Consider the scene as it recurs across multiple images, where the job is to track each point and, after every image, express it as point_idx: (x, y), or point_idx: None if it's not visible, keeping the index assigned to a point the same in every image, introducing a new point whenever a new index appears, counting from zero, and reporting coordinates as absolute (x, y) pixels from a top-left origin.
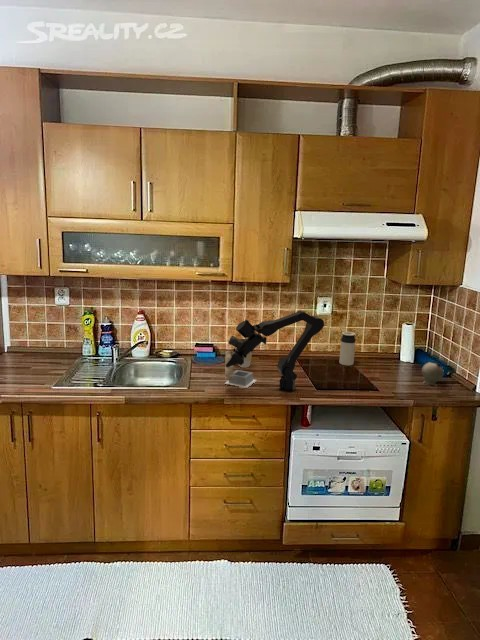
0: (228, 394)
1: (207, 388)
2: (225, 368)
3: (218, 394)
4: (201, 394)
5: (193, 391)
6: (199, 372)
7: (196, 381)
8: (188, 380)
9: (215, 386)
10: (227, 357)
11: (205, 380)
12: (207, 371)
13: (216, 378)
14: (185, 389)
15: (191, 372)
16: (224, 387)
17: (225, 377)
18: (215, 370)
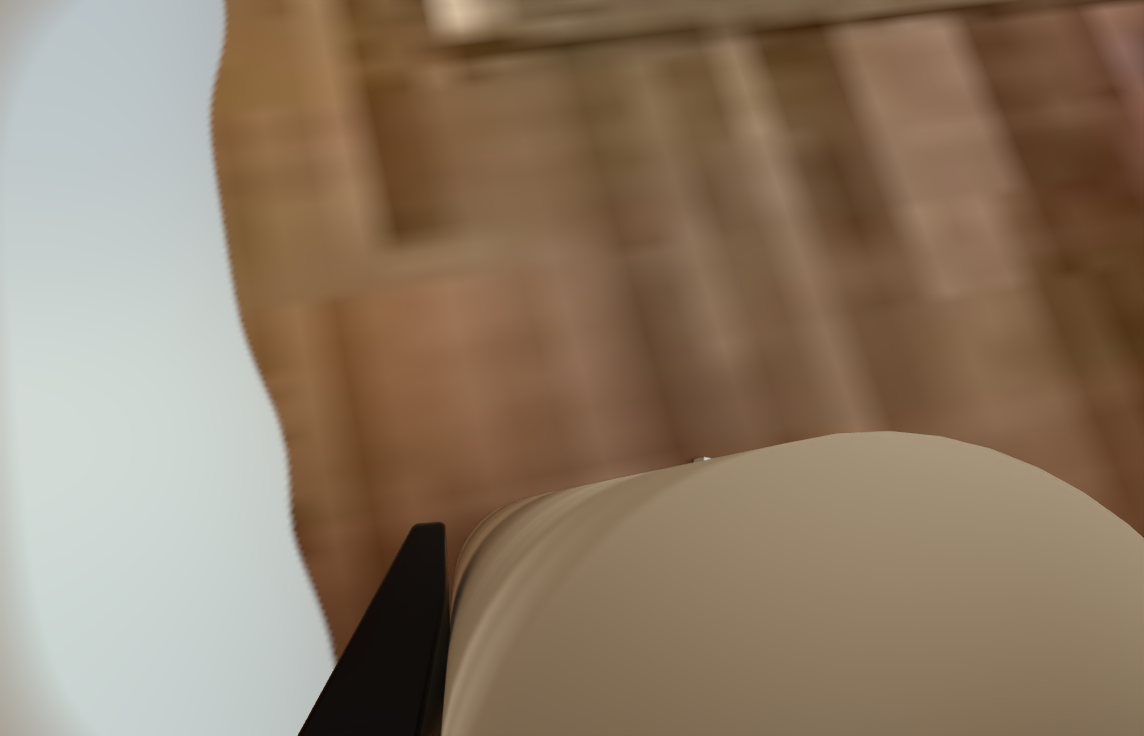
0: (340, 592)
1: (513, 262)
2: (521, 503)
3: (314, 445)
4: (276, 221)
5: (369, 112)
6: (995, 96)
7: (713, 102)
8: (717, 15)
9: (610, 350)
10: (466, 642)
11: (777, 196)
12: (1058, 176)
13: (885, 314)
14: (419, 16)
15: (962, 17)
16: (604, 477)
17: (491, 512)
18: (1125, 258)
